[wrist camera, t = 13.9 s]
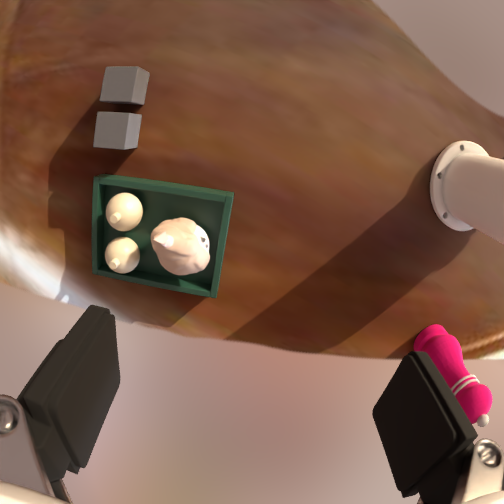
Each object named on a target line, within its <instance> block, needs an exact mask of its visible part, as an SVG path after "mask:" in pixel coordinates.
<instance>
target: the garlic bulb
mask: <svg viewBox="0 0 504 504" xmlns="http://www.w3.org/2000/svg"><path fill="white" fill-rule="evenodd" d="M151 243H152V247H153V249H154V251H155V252H156V253H157V256H158V259H159V261H160V264H161V265H162V266H163V267H164V268H165V269H166V270H167V271H169V272H171V273H173V274H176V275H187V274H191V273H197V272H199V271H202V270H204V269H205V267H206V266H207V264H208V262H209V260H210V255H209V239H208V237H207V234H206V233H205V231H204V230H203V229H202V228H201V227H200V226H198V225H196V223H195V222H194V221H192V220H190V219H187V218H182V217H180V218H176V219H173V220H165V221H163V222H161V223H160V224H159V225H158V227H156V228H155V229H154V230H153V231H152V233H151Z"/></svg>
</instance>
